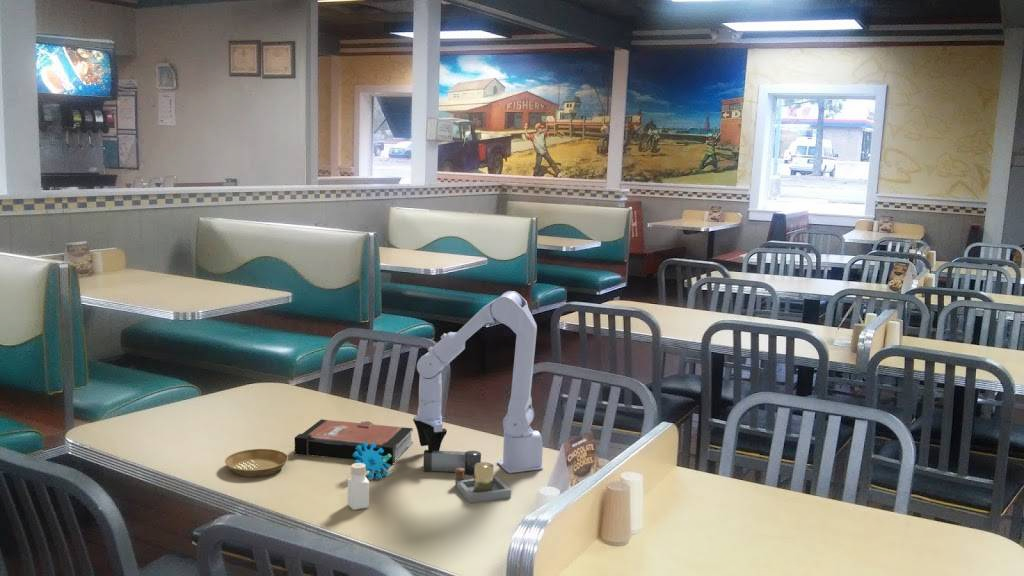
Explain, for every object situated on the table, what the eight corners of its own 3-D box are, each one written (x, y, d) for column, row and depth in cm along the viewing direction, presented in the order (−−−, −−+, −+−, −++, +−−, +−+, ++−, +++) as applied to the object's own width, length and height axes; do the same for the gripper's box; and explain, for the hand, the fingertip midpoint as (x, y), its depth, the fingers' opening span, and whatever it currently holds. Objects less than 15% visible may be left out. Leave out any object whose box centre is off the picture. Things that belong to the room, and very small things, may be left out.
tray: (496, 483, 210) (496, 475, 209) (510, 497, 201) (511, 490, 201) (456, 488, 206) (456, 480, 205) (470, 503, 198) (470, 495, 197)
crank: (481, 468, 218) (481, 450, 217) (479, 474, 214) (480, 456, 213) (424, 466, 218) (425, 448, 217) (422, 472, 214) (423, 454, 214)
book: (413, 443, 236) (414, 425, 235) (392, 466, 219) (392, 447, 218) (322, 434, 241) (322, 416, 240) (294, 456, 224) (294, 437, 223)
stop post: (462, 483, 209) (462, 467, 208) (465, 486, 207) (465, 470, 206) (453, 484, 208) (454, 468, 207) (456, 487, 206) (457, 471, 205)
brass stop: (489, 485, 206) (490, 461, 205) (495, 493, 202) (496, 468, 201) (471, 487, 205) (472, 463, 204) (476, 495, 201) (477, 470, 199)
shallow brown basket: (269, 454, 224) (268, 444, 224) (299, 470, 214) (299, 460, 214) (214, 467, 214) (214, 457, 214) (243, 485, 204) (243, 474, 203)
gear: (364, 479, 205) (349, 442, 209) (351, 491, 208) (337, 454, 212) (401, 473, 213) (385, 438, 217) (388, 485, 216) (373, 450, 220)
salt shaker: (352, 511, 191) (352, 469, 190) (346, 504, 195) (346, 463, 193) (369, 508, 193) (370, 467, 192) (364, 501, 197) (364, 461, 195)
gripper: (406, 392, 227) (406, 442, 230) (423, 408, 214) (422, 461, 217) (432, 390, 230) (431, 439, 232) (450, 406, 217) (449, 458, 219)
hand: (429, 450), depth 225 cm, fingers open, 7 cm apart
